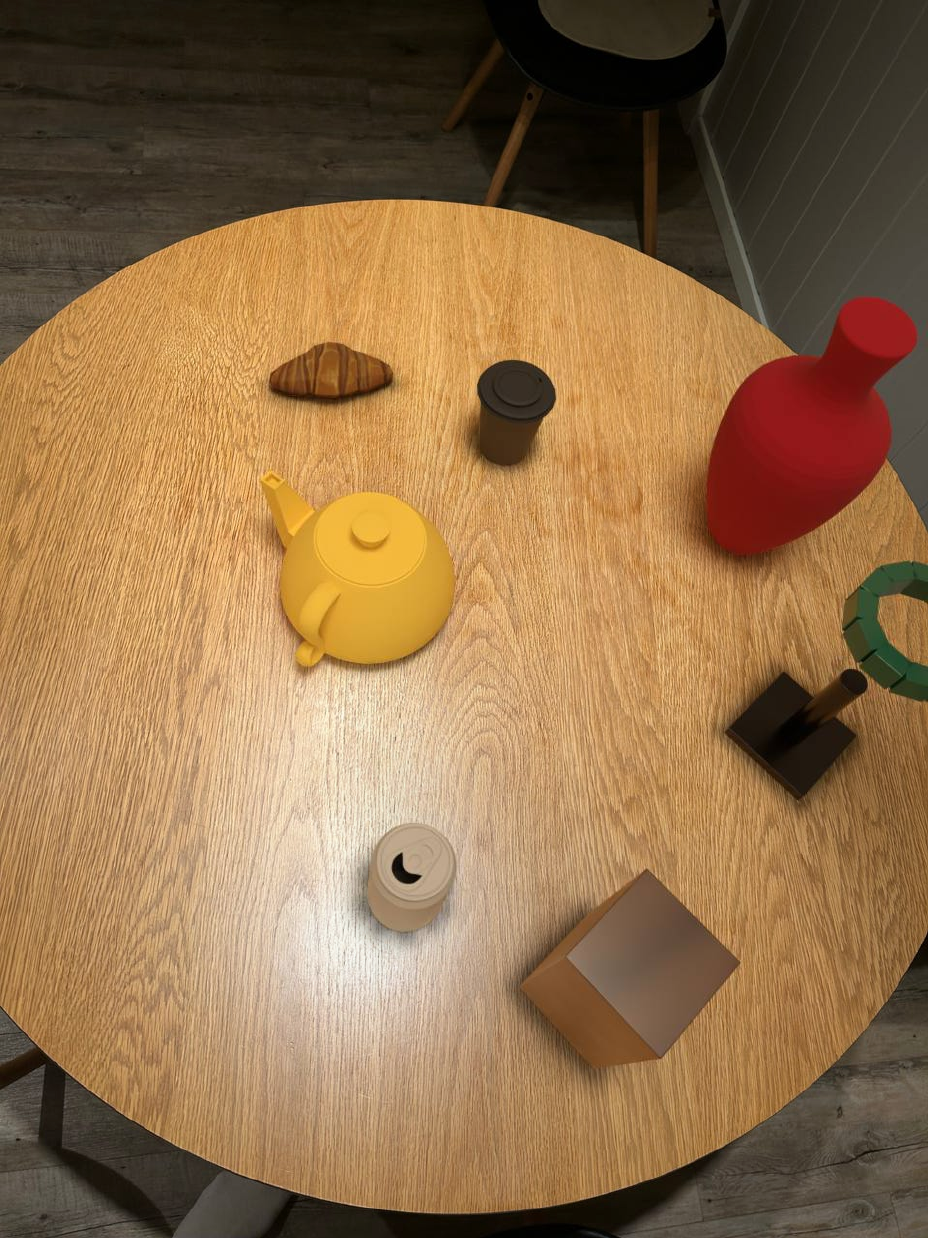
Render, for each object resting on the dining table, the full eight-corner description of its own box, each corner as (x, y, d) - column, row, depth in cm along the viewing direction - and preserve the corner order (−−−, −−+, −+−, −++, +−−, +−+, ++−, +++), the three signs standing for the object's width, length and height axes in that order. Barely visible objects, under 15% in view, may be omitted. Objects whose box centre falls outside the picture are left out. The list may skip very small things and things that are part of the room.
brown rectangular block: (659, 991, 78) (741, 962, 62) (592, 1069, 74) (661, 1059, 59) (586, 915, 80) (647, 867, 64) (518, 987, 77) (564, 956, 61)
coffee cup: (555, 448, 103) (575, 386, 94) (505, 489, 99) (521, 429, 91) (501, 404, 105) (515, 340, 96) (450, 443, 101) (461, 380, 93)
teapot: (483, 581, 94) (502, 509, 83) (372, 724, 86) (377, 667, 74) (322, 480, 97) (319, 398, 86) (201, 608, 89) (180, 537, 78)
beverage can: (351, 889, 79) (353, 855, 68) (409, 840, 81) (420, 800, 71) (400, 950, 77) (409, 925, 66) (458, 898, 79) (476, 866, 69)
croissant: (387, 357, 106) (390, 324, 102) (397, 404, 103) (399, 373, 99) (266, 365, 103) (263, 332, 99) (272, 413, 100) (269, 381, 96)
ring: (1000, 643, 71) (1020, 629, 69) (929, 728, 67) (948, 716, 65) (890, 553, 74) (906, 537, 72) (815, 630, 70) (830, 615, 68)
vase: (773, 465, 105) (918, 250, 79) (826, 577, 99) (1003, 385, 72) (652, 482, 102) (761, 265, 76) (699, 600, 96) (835, 408, 69)
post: (851, 740, 91) (926, 686, 79) (797, 800, 87) (868, 753, 75) (778, 675, 93) (841, 614, 81) (724, 732, 89) (781, 676, 78)
